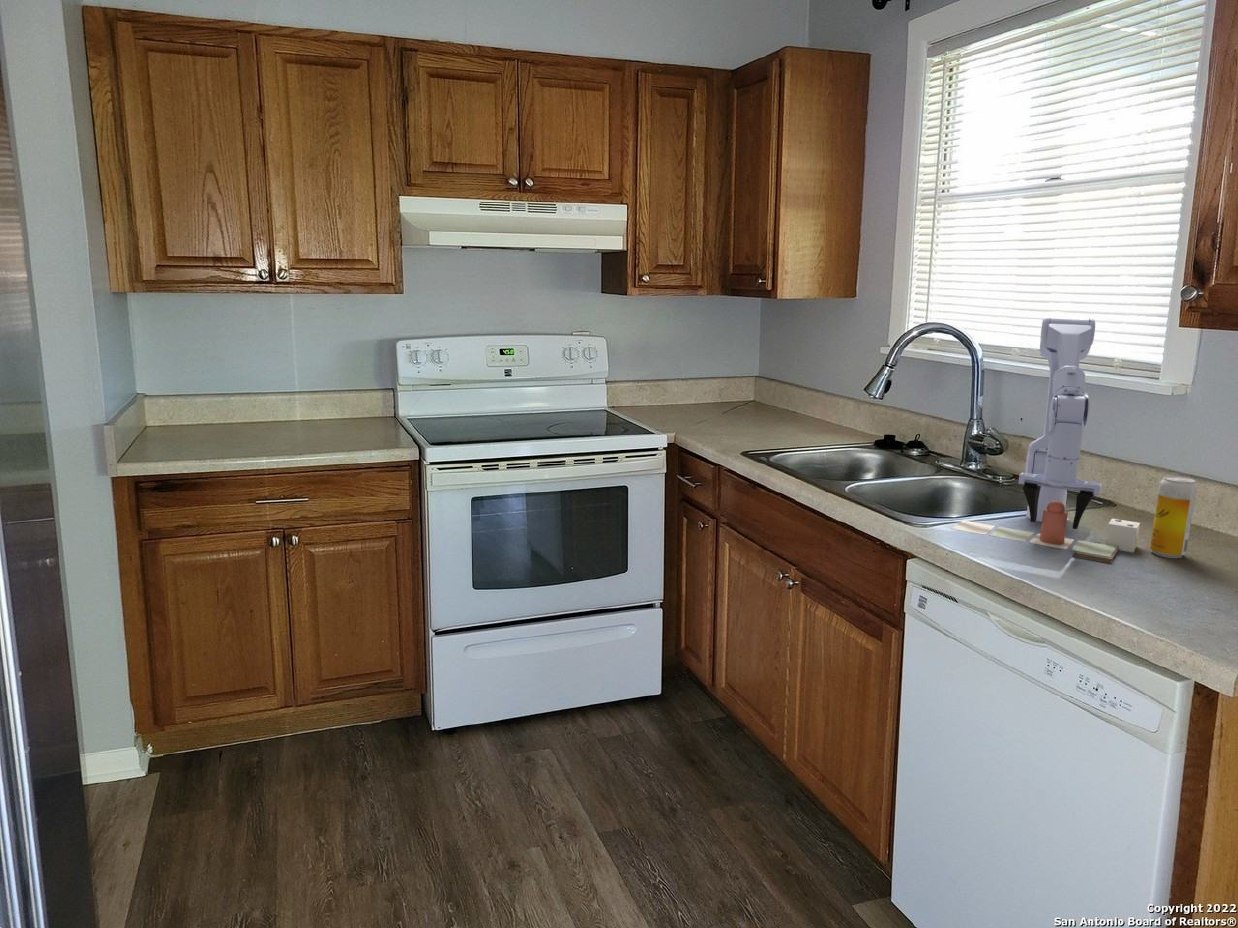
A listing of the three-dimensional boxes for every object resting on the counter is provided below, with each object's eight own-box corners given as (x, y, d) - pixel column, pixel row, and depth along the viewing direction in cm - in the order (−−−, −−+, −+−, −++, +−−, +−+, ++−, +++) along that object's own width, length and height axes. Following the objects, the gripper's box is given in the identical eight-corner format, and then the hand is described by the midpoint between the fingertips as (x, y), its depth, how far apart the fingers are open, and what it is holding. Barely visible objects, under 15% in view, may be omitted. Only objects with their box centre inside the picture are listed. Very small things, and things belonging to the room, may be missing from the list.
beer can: (1152, 547, 185) (1164, 474, 182) (1187, 554, 182) (1200, 479, 178) (1146, 554, 181) (1158, 478, 178) (1182, 561, 177) (1194, 484, 174)
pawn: (1042, 536, 187) (1047, 496, 186) (1065, 540, 185) (1071, 500, 183) (1037, 541, 184) (1042, 500, 182) (1061, 545, 181) (1067, 504, 180)
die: (1108, 542, 189) (1112, 518, 187) (1136, 547, 186) (1140, 522, 185) (1104, 547, 185) (1108, 523, 183) (1133, 552, 182) (1137, 527, 181)
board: (961, 523, 199) (961, 519, 199) (1118, 550, 182) (1119, 546, 182) (947, 533, 191) (948, 529, 191) (1110, 563, 174) (1111, 558, 174)
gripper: (1018, 454, 182) (1010, 522, 184) (1101, 465, 174) (1091, 535, 176) (1026, 449, 187) (1018, 514, 190) (1106, 459, 179) (1097, 527, 182)
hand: (1054, 524), depth 184 cm, fingers open, 7 cm apart
